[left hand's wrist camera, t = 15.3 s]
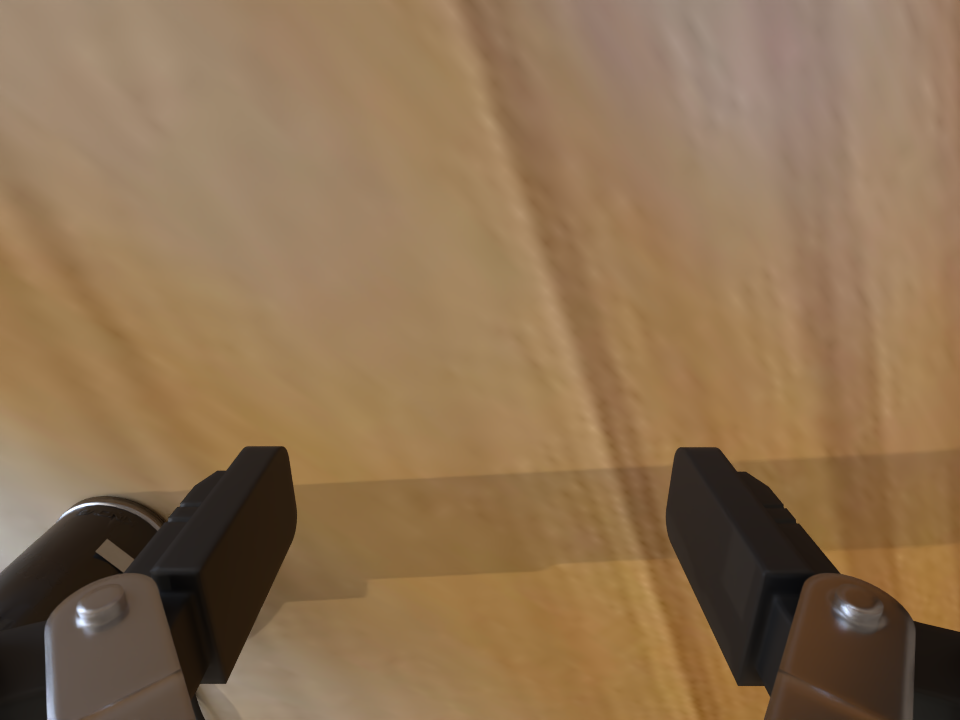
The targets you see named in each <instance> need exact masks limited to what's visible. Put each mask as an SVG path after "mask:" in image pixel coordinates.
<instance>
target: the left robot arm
mask: <svg viewBox="0 0 960 720" xmlns="http://www.w3.org/2000/svg"><path fill="white" fill-rule="evenodd" d="M296 523H297V508H296V501H295V495H294V488H293V481H292V475H291V468H290V461H289V456H288V452H287V450H286V448H285V447H283V446H247V447H245V448H244V449H243V450H242V451H241V452H240V453H239V455H238V456H237V457H236V459H235V460H234V461H233V463H232V464H231V465H230V467H229V468H228V469H227V470H226V471H216V472H215V473H213V474H212V475H210V476H209V477H207V478H206V479H204V480H203V481H201V482H200V483H198V484H197V485H195V486H194V487H193V489H192V490H191V491H190V492H189V493H188V495H187V496H186V497H185V498H184V500H183V501H182V502H181V503H180V507H177V508H176V509H175V511H174V512H173V513H172V514H171V515H170V517H169V518H168V522H164V521H163V520H162V519H161V518H160V517H158V516H157V515H156V514H155V513H153V512H152V511H151V510H149V509H147V508H146V507H144V506H142V505H140V504H138V503H135V502H133V501H130V500H127V499H123V498H118V497H110V496H101V497H92V498H88V499H85V500H82V501H80V502H78V503H76V504H75V505H73V506H72V507H71V508H70V509H69V510H68V511H66V512H65V513H64V514H63V515H62V516H61V517H60V518H59V519H58V521H57V522H56V523H55V524H54V525H53V526H52V527H51V528H50V529H49V530H48V531H47V532H45V533H44V534H43V535H42V536H41V537H40V538H39V539H37V540H36V541H35V542H34V543H33V544H32V545H31V546H30V547H28V548H27V549H26V550H25V551H24V552H23V553H22V554H21V555H20V556H19V557H17V558H16V559H15V560H14V561H13V562H12V563H11V564H10V565H9V566H7V567H6V568H5V569H4V570H3V571H2V572H1V573H0V720H205V719H204V717H203V714H202V712H201V710H200V707H199V704H198V701H197V698H196V695H195V692H196V690H197V688H198V686H199V685H200V684H226V683H227V681H228V678H229V676H230V674H231V672H232V670H233V668H234V666H235V663H236V661H237V659H238V657H239V655H240V653H241V650H242V648H243V646H244V644H245V642H246V640H247V638H248V635H249V633H250V631H251V629H252V627H253V625H254V622H255V620H256V618H257V616H258V614H259V612H260V610H261V607H262V605H263V603H264V601H265V599H266V597H267V595H268V592H269V590H270V588H271V586H272V584H273V582H274V579H275V577H276V575H277V573H278V571H279V569H280V567H281V564H282V562H283V560H284V558H285V556H286V554H287V552H288V549H289V547H290V545H291V543H292V541H293V538H294V535H295V530H296ZM666 526H667V532H668V536H669V540H670V542H671V544H672V547H673V549H674V551H675V553H676V555H677V557H678V559H679V561H680V564H681V566H682V568H683V570H684V572H685V574H686V576H687V578H688V580H689V583H690V585H691V587H692V589H693V591H694V593H695V595H696V597H697V600H698V602H699V604H700V606H701V608H702V610H703V612H704V614H705V617H706V619H707V621H708V623H709V625H710V627H711V629H712V631H713V634H714V636H715V638H716V640H717V642H718V644H719V646H720V648H721V651H722V653H723V655H724V657H725V659H726V661H727V663H728V665H729V668H730V670H731V672H732V674H733V676H734V678H735V680H736V682H737V685H738V686H765V688H766V690H767V692H768V694H769V696H770V701H769V704H768V707H767V711H766V714H765V718H764V720H960V632H958V631H953V630H949V629H945V628H940V627H936V626H932V625H928V624H923V623H919V622H916V621H913V620H912V618H911V616H910V615H909V613H908V612H907V611H906V610H905V608H904V607H903V606H902V605H901V604H900V603H899V602H898V601H896V600H895V599H894V598H893V597H891V596H890V595H889V594H887V593H886V592H884V591H883V590H881V589H880V588H878V587H876V586H874V585H872V584H870V583H868V582H865V581H863V580H861V579H858V578H855V577H851V576H847V575H843V574H840V573H839V571H838V570H837V569H836V568H835V566H834V565H833V564H832V563H831V562H830V560H829V559H828V558H827V557H826V556H825V554H824V553H823V552H822V551H821V550H820V548H819V547H818V546H817V545H816V544H815V542H814V541H813V540H812V539H811V537H810V536H809V535H808V534H807V533H806V531H805V530H804V529H803V528H802V527H801V525H800V524H796V519H795V518H794V517H793V516H792V514H791V513H790V512H789V511H788V510H787V508H784V507H783V504H782V502H781V501H780V500H779V499H778V498H777V496H776V495H775V494H774V493H773V491H772V490H771V489H770V488H769V487H768V486H767V485H765V484H764V483H762V482H761V481H759V480H757V479H756V478H754V477H753V476H751V475H750V474H748V473H747V472H737V471H736V470H735V468H734V467H733V466H732V464H731V463H730V462H729V461H728V459H727V458H726V457H725V455H724V454H723V453H722V451H721V450H720V449H718V448H716V447H680V448H678V449H677V451H676V453H675V456H674V462H673V468H672V475H671V481H670V488H669V495H668V501H667V508H666Z"/></svg>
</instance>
